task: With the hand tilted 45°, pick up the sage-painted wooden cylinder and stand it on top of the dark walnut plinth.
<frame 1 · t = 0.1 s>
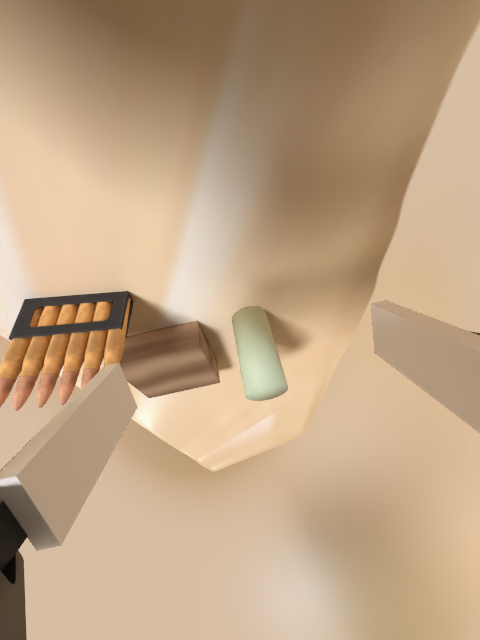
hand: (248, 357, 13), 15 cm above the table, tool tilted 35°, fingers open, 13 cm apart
sage cylinder: (249, 318, 36), on the table
ammunition clip: (82, 299, 29), on the table
walnut plinth: (170, 351, 40), on the table
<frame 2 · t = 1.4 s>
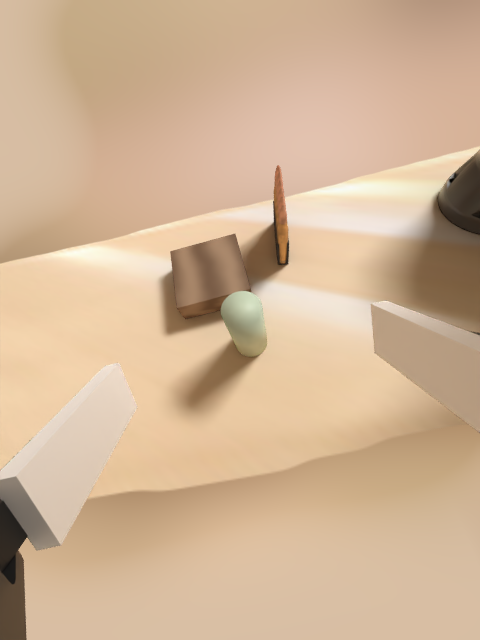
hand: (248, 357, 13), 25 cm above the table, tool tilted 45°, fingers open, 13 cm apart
sage cylinder: (251, 341, 40), on the table
ammunition clip: (280, 242, 48), on the table
walnut plinth: (213, 282, 46), on the table
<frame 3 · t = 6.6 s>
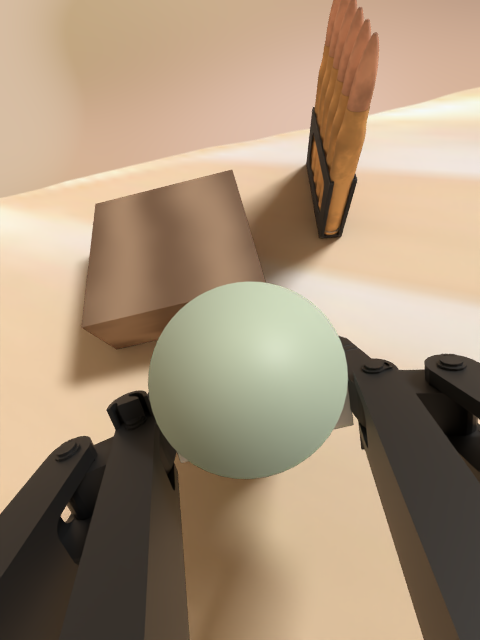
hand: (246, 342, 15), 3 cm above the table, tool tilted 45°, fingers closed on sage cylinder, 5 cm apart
sage cylinder: (263, 415, 16), on the table, touching gripper
ammunition clip: (321, 198, 25), on the table
walnut plinth: (184, 271, 22), on the table
when the fingers open (9 cm above the table, at t = 12.4 s): sage cylinder drops 1 cm, resting on walnut plinth.
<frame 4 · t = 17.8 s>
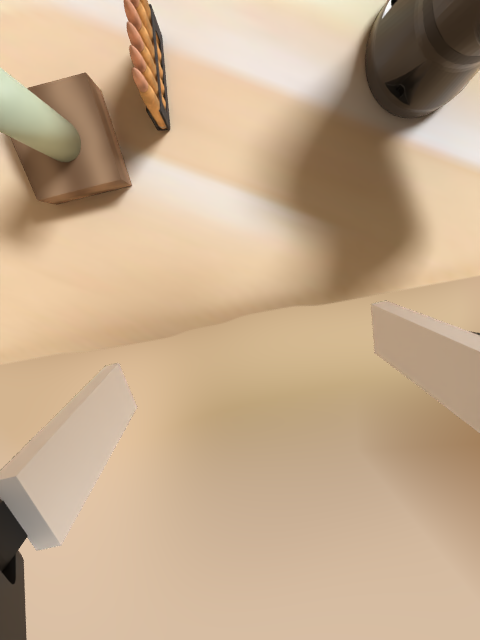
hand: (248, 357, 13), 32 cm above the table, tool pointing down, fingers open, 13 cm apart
sage cylinder: (60, 140, 33), point 4 cm above the table, touching walnut plinth
ammunition clip: (160, 86, 35), on the table
walnut plinth: (77, 150, 37), on the table
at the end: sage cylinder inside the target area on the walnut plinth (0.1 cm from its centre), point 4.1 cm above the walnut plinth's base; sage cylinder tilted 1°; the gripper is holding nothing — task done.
